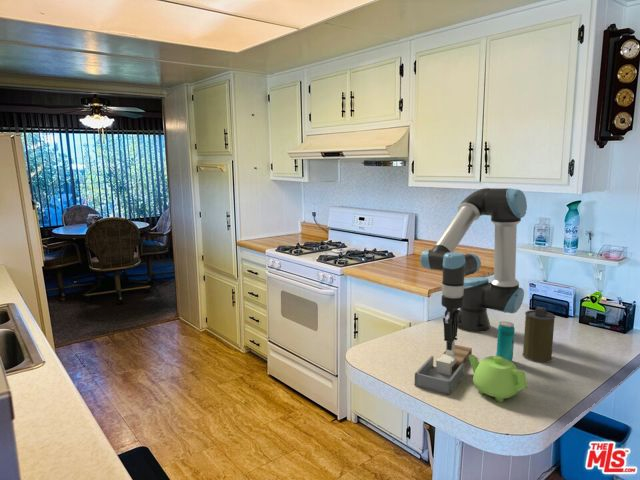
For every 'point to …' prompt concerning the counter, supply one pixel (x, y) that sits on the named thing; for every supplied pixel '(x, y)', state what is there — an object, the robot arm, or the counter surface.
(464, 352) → the walnut board
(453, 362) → the tile
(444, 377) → the tray
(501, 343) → the beverage can
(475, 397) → the counter surface
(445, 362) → the tile
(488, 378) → the teapot
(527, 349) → the canister
